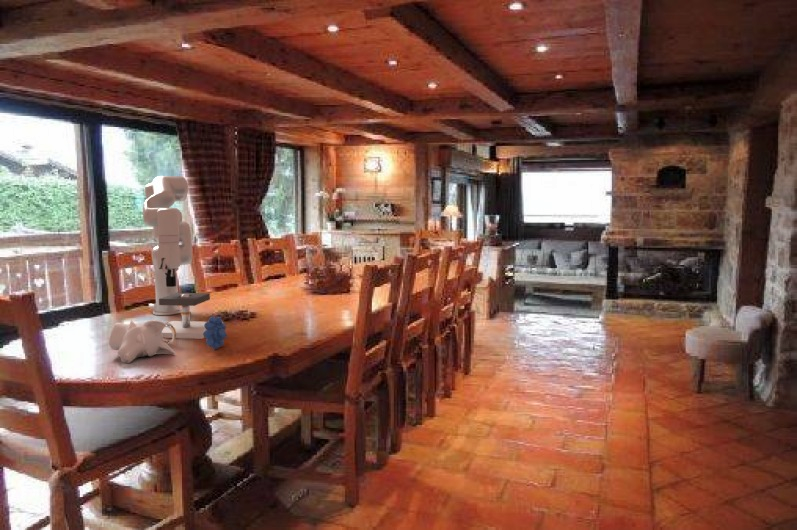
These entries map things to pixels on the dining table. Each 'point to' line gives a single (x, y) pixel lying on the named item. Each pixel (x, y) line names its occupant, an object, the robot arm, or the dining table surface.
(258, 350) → the dining table surface
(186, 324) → the glossy pinkish cylinder
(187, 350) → the dining table surface
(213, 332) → the grapes
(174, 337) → the ring
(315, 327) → the dining table surface
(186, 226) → the robot arm
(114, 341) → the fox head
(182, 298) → the square hole plate
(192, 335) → the stand plate
